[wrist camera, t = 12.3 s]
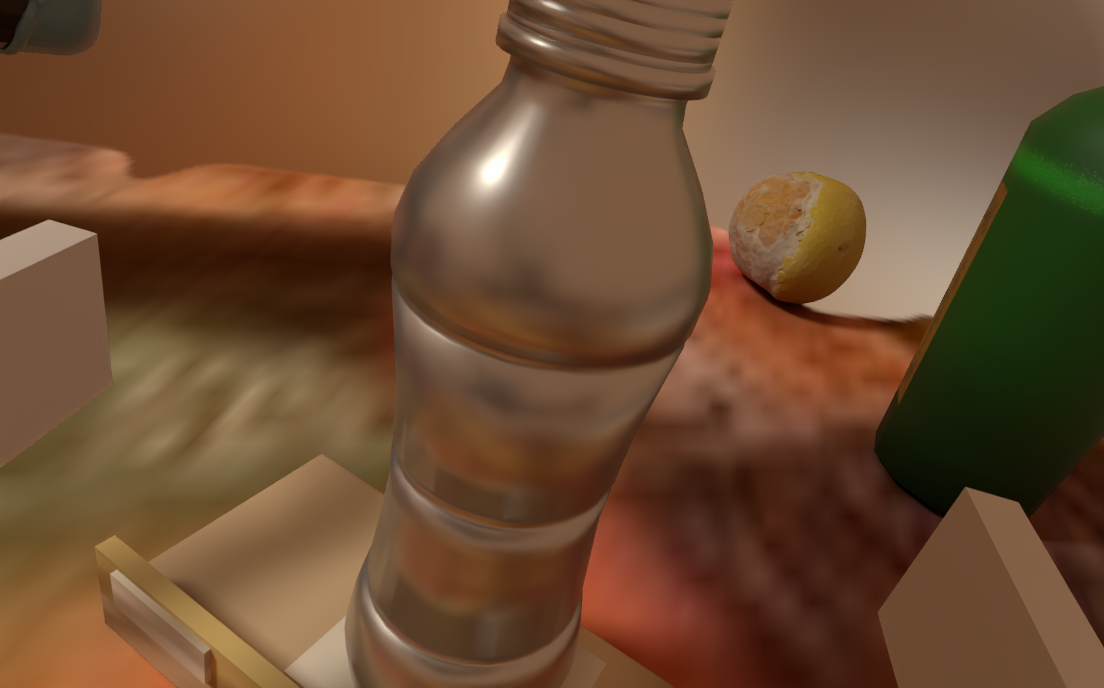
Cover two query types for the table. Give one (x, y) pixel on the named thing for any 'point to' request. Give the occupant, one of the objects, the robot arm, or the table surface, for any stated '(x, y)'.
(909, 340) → the table surface
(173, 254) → the table surface
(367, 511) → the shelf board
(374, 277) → the table surface
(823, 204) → the fruit
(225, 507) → the table surface
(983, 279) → the bottle
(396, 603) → the plastic bottle
